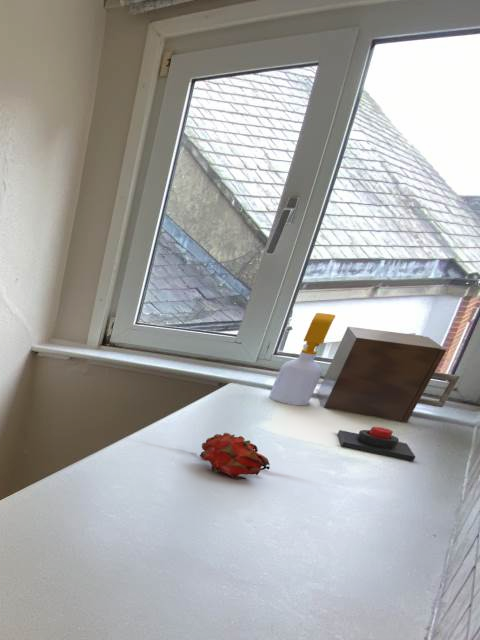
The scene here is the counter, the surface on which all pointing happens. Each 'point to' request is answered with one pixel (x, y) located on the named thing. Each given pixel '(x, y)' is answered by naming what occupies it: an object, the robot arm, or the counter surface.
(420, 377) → the cupboard
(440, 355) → the door
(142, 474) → the counter surface
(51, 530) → the counter surface
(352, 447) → the red and black buzzer
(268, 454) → the counter surface
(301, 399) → the soap bottle
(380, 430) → the button
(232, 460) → the dragon fruit
